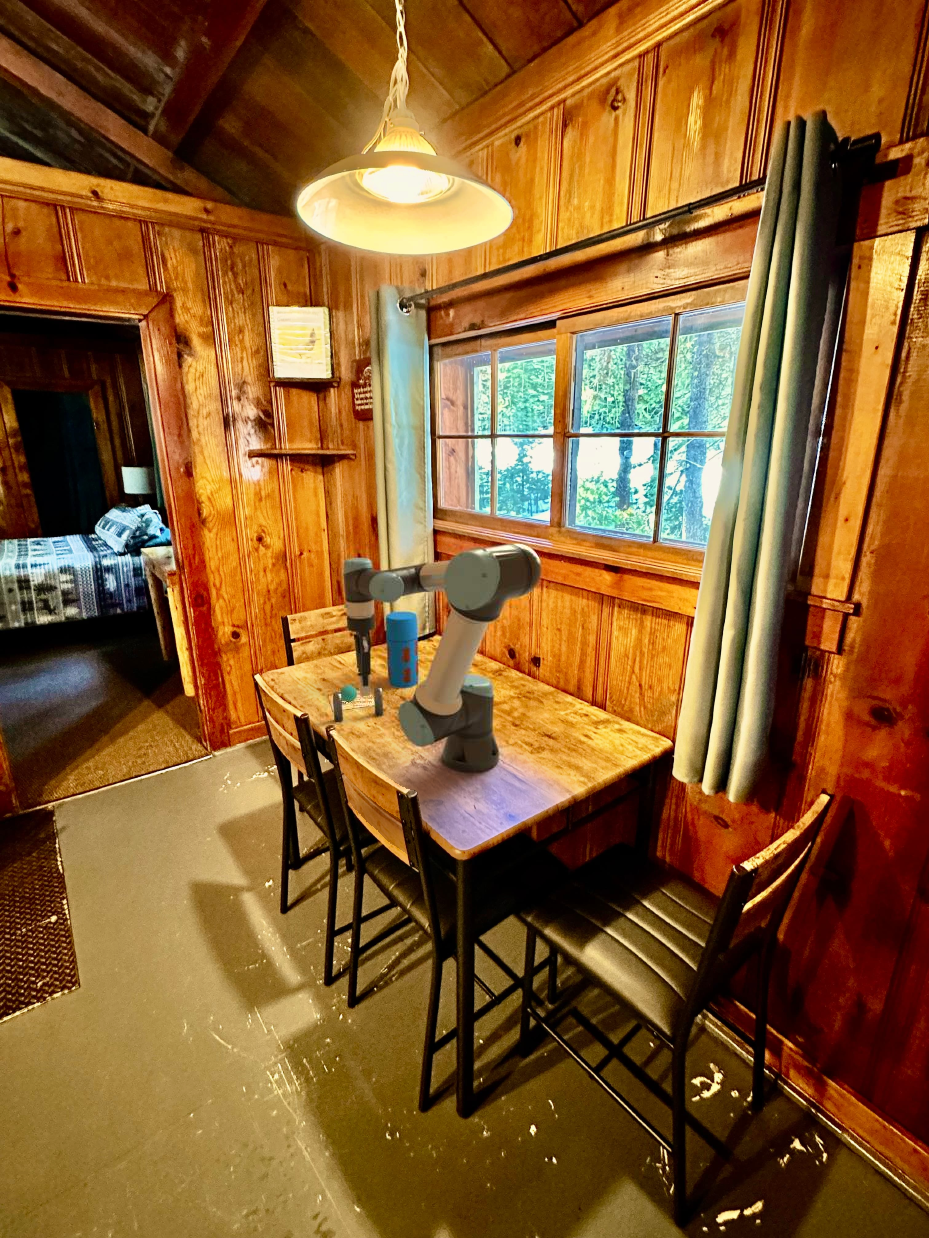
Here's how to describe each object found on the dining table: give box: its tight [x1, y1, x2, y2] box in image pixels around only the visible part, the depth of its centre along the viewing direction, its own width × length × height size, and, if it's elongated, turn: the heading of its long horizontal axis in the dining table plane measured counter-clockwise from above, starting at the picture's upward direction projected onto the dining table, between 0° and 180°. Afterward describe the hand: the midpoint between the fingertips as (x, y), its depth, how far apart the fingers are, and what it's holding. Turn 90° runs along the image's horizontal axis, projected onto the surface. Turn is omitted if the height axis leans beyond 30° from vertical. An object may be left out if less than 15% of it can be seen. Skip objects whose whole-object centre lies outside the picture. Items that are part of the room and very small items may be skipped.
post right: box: [373, 686, 384, 717], centre depth 179 cm, size 3×3×9 cm
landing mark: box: [328, 689, 374, 713], centre depth 191 cm, size 14×14×1 cm
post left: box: [331, 691, 344, 723], centre depth 175 cm, size 3×3×9 cm
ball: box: [340, 684, 358, 702], centre depth 189 cm, size 6×6×6 cm
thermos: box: [385, 611, 419, 689], centre depth 202 cm, size 11×11×25 cm
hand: (365, 695), depth 163 cm, fingers closed
